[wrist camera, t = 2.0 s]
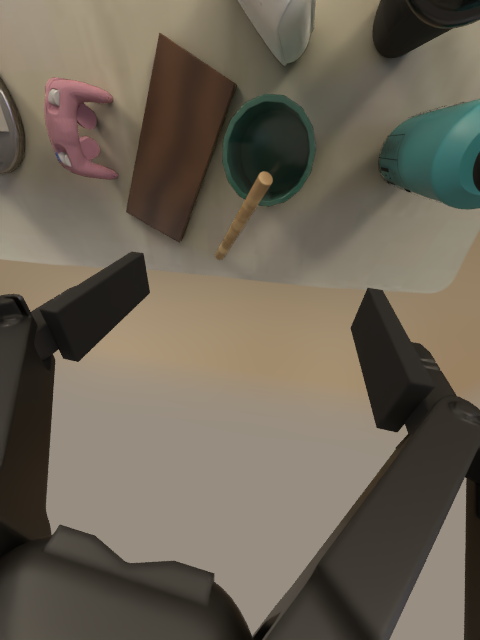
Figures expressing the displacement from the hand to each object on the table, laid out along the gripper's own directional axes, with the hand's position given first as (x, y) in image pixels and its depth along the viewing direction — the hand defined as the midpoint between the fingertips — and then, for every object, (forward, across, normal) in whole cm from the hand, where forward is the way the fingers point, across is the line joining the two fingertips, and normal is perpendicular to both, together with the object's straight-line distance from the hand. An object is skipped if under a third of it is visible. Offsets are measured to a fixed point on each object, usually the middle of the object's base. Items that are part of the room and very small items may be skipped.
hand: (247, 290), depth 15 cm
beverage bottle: (+24, +13, +8) cm, 28 cm away
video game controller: (+24, -25, +6) cm, 35 cm away
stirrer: (+18, -4, -2) cm, 19 cm away
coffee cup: (+24, -2, +6) cm, 24 cm away
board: (+24, -15, +5) cm, 28 cm away
